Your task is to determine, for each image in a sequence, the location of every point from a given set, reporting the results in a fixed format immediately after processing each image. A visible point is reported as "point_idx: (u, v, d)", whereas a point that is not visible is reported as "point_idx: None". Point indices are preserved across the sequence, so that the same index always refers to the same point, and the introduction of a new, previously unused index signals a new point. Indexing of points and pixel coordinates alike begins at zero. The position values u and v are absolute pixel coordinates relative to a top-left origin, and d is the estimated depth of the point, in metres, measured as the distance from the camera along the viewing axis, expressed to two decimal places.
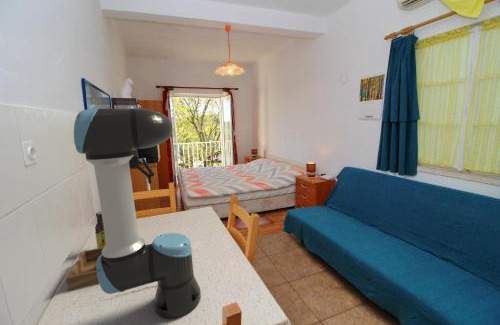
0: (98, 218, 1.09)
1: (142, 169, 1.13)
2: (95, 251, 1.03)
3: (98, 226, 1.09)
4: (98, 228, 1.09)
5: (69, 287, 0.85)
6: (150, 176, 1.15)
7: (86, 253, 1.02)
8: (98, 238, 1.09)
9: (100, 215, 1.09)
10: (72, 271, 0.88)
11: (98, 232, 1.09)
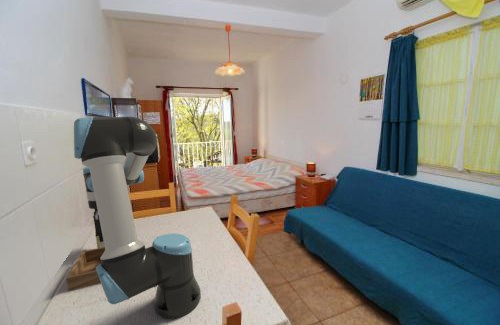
0: None
1: None
2: (95, 251, 1.03)
3: None
4: None
5: (69, 287, 0.85)
6: None
7: (86, 253, 1.02)
8: None
9: None
10: (72, 271, 0.88)
11: None
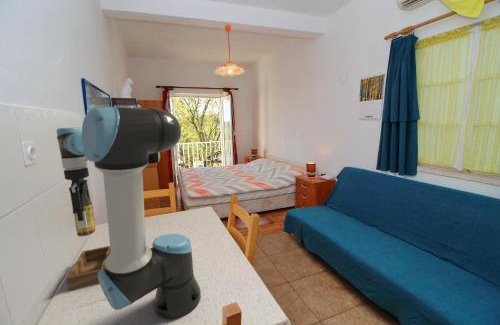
0: None
1: None
2: (95, 251, 1.03)
3: None
4: None
5: (69, 287, 0.85)
6: (76, 212, 0.86)
7: (86, 253, 1.02)
8: None
9: None
10: (72, 271, 0.88)
11: None
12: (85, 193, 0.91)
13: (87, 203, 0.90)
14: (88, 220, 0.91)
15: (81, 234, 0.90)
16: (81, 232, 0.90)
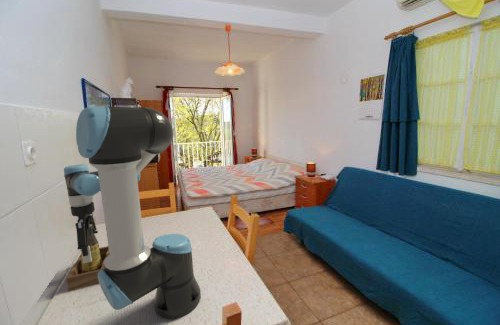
0: None
1: None
2: None
3: None
4: None
5: (69, 287, 0.85)
6: None
7: None
8: None
9: None
10: (72, 271, 0.88)
11: None
12: (91, 233, 0.93)
13: (94, 242, 0.93)
14: (95, 258, 0.94)
15: None
16: (88, 271, 0.93)
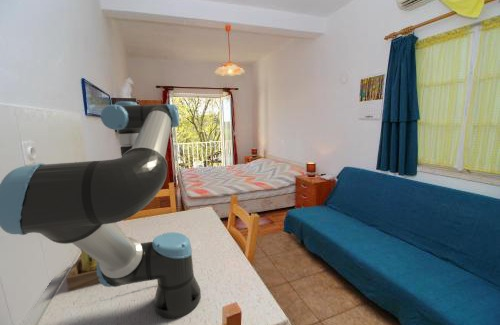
0: None
1: None
2: None
3: None
4: None
5: (69, 287, 0.85)
6: None
7: None
8: (84, 256, 0.92)
9: None
10: (72, 271, 0.88)
11: None
12: None
13: None
14: None
15: None
16: (89, 271, 0.93)
